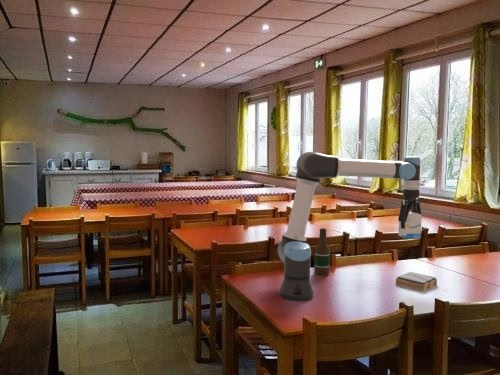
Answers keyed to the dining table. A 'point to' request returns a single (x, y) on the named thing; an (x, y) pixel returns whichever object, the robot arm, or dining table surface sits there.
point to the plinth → (416, 281)
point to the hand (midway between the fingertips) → (409, 233)
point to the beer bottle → (322, 255)
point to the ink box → (412, 226)
